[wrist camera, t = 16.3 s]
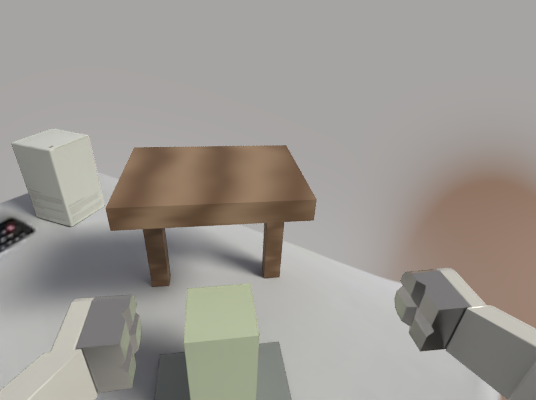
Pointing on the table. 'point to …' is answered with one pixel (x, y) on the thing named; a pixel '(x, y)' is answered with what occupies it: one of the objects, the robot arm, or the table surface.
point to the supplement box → (60, 175)
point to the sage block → (221, 343)
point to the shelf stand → (209, 196)
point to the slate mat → (268, 375)
